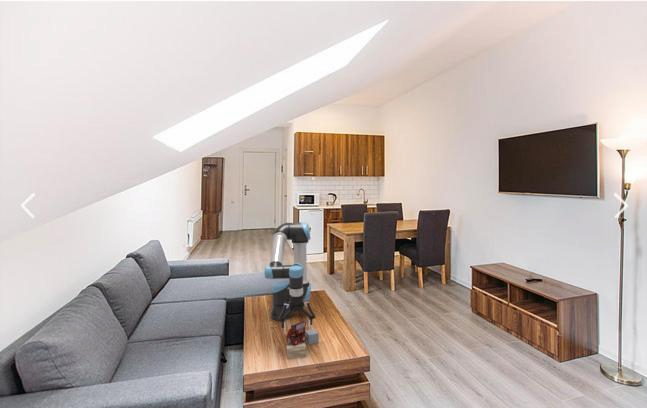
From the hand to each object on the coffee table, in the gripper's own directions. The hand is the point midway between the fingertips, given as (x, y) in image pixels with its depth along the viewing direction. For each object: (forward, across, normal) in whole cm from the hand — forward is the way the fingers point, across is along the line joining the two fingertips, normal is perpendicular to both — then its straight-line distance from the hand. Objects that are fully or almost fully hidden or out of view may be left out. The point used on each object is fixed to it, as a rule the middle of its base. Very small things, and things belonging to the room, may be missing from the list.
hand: (297, 331), depth 169 cm
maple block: (+11, -1, 0) cm, 11 cm away
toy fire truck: (+6, -1, 0) cm, 6 cm away
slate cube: (+10, +9, +6) cm, 15 cm away
